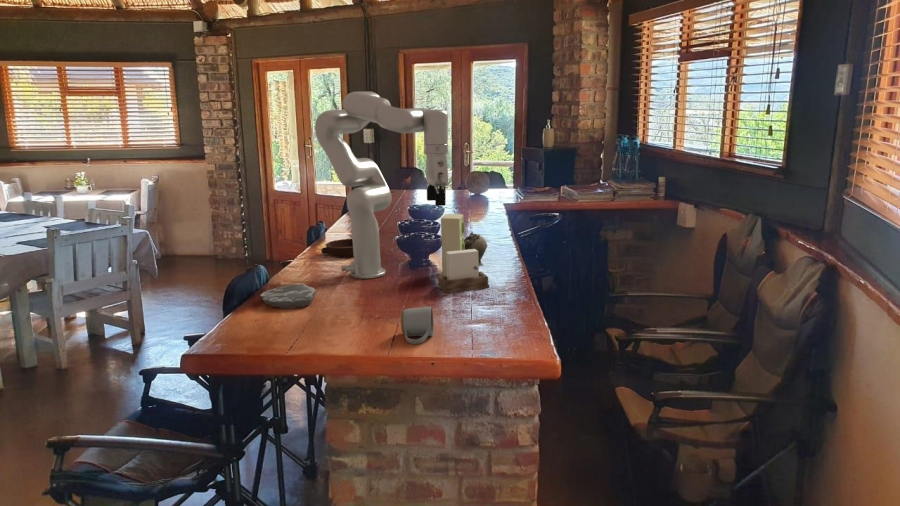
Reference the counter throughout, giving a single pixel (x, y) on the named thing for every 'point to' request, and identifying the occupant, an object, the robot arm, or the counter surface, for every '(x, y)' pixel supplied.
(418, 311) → the ceramic mug
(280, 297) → the brain slice
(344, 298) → the counter surface
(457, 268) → the rectangular block
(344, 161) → the robot arm
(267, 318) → the counter surface
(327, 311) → the counter surface
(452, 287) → the brown wooden tray
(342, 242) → the dish
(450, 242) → the toy refrigerator
